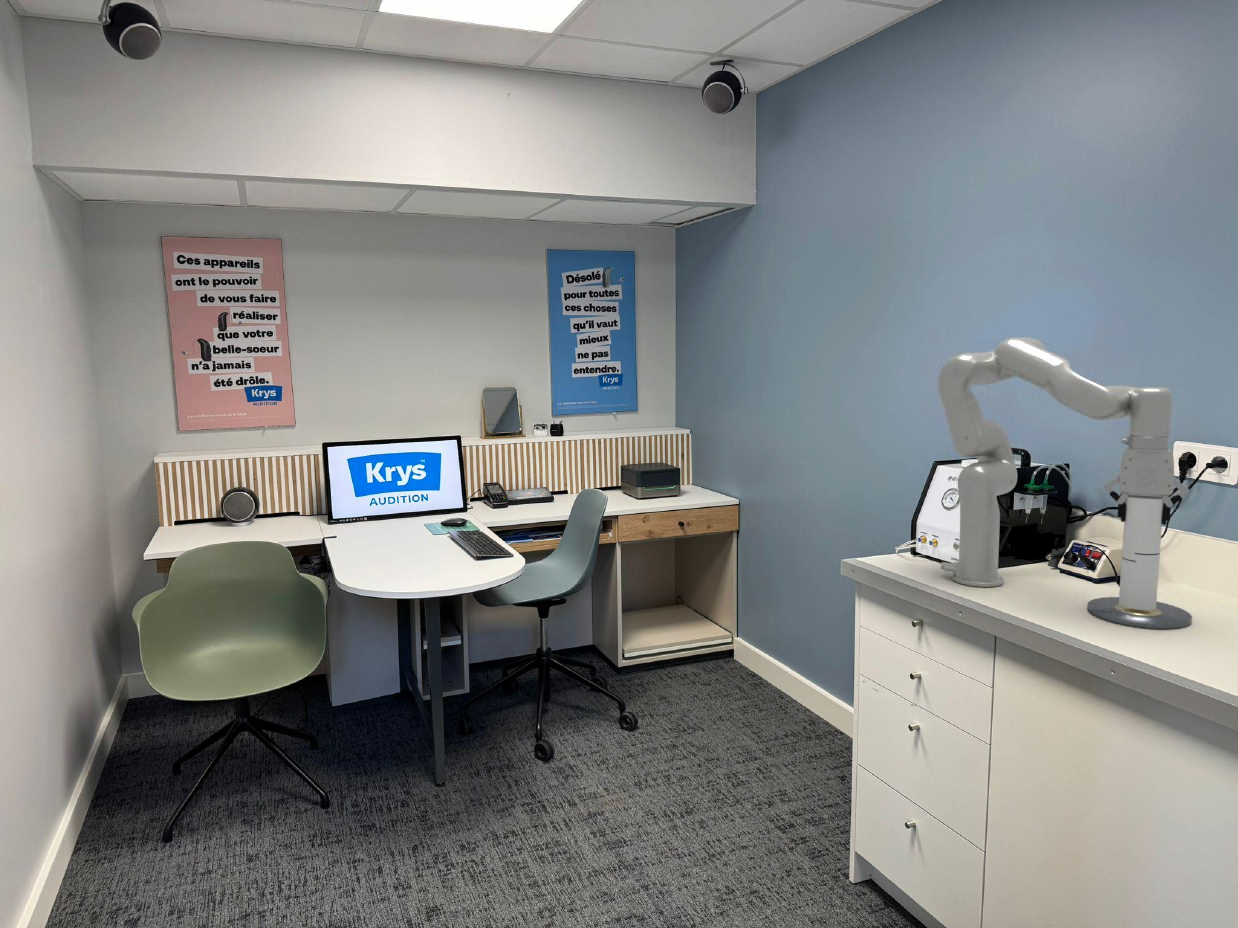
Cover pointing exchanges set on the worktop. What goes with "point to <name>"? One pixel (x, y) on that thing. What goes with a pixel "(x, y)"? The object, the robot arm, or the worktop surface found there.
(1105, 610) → the plate
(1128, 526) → the cylindrical container
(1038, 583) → the worktop surface
